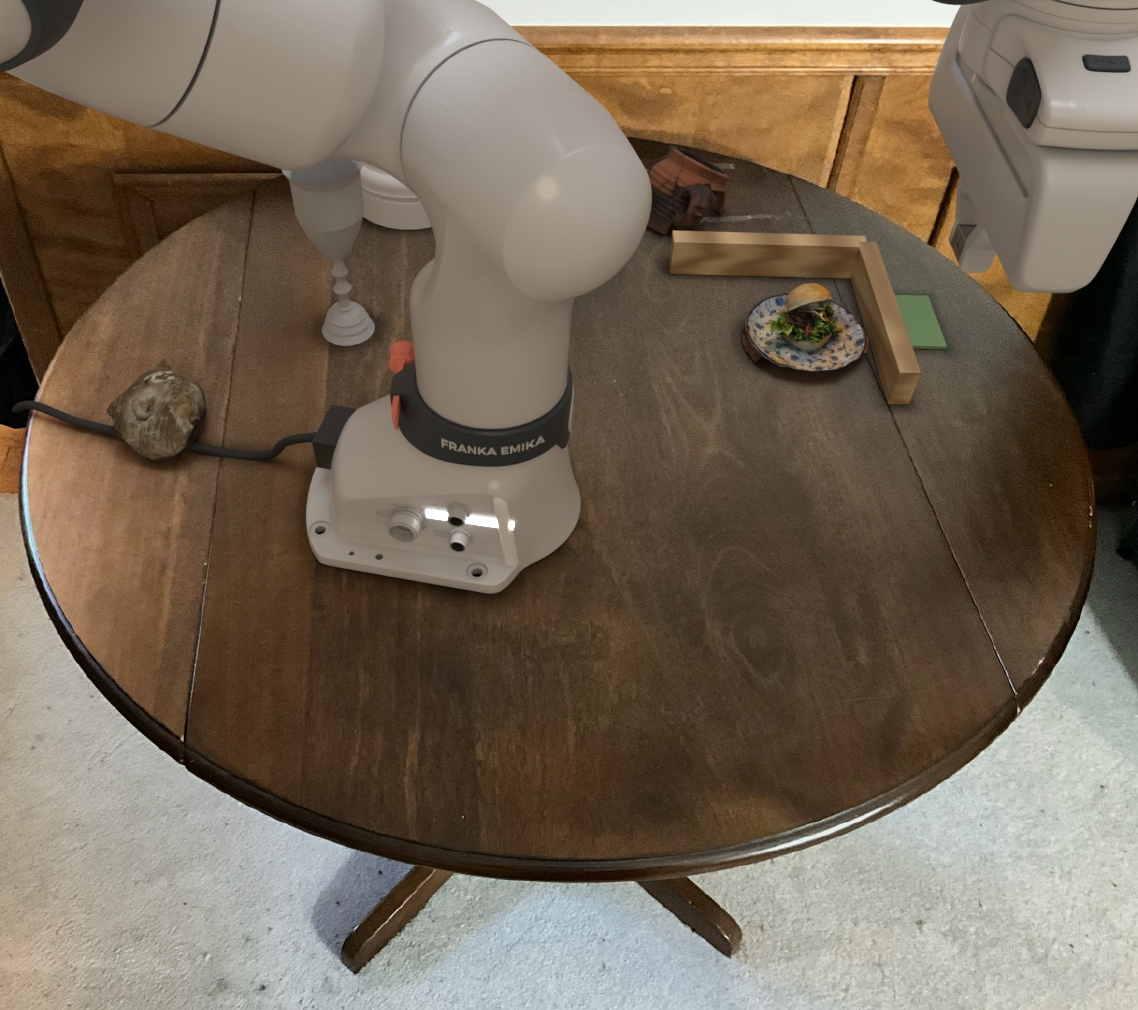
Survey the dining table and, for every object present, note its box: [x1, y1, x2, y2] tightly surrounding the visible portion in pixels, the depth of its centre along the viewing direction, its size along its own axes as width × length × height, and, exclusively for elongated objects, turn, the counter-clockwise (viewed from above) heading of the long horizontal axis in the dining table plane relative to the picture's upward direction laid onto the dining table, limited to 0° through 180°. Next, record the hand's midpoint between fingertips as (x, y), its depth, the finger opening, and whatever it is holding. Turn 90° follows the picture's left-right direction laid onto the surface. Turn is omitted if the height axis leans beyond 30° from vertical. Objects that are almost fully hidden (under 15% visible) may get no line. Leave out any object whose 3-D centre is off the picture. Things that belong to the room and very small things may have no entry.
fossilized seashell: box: [106, 358, 208, 462], centre depth 89 cm, size 8×7×10 cm
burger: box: [741, 265, 870, 373], centre depth 99 cm, size 12×12×8 cm
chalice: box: [281, 158, 376, 347], centre depth 94 cm, size 7×7×18 cm
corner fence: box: [667, 230, 922, 406], centre depth 102 cm, size 21×21×4 cm
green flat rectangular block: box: [894, 294, 948, 350], centre depth 105 cm, size 5×8×1 cm, turn 0°
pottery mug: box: [647, 145, 730, 236], centre depth 113 cm, size 12×10×8 cm
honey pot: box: [360, 162, 432, 231], centre depth 109 cm, size 13×13×18 cm
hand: (966, 258), depth 63 cm, fingers closed
